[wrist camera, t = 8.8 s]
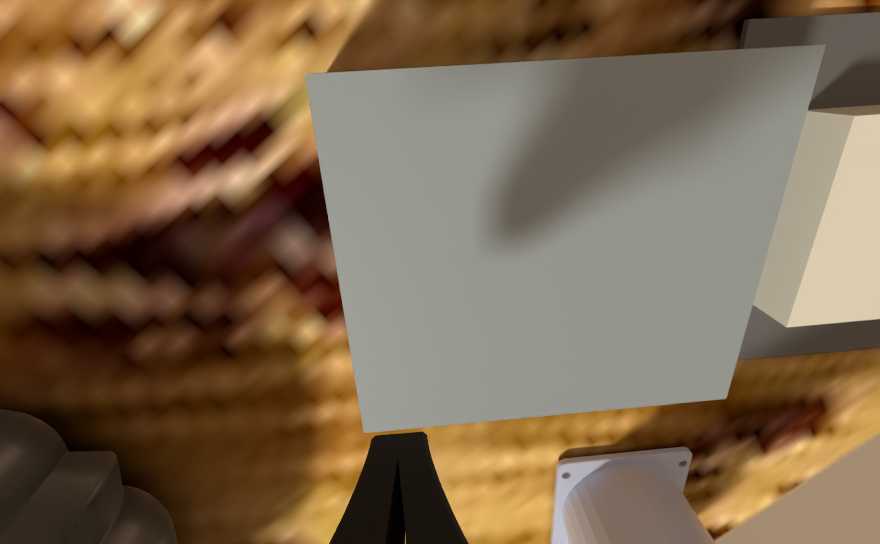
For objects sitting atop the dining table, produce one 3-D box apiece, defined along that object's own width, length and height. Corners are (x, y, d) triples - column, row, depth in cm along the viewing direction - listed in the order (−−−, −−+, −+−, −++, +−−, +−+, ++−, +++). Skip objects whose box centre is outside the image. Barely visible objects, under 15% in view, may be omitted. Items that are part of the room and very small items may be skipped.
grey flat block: (676, 347, 23) (726, 398, 20) (370, 374, 23) (363, 433, 19) (738, 49, 17) (826, 44, 14) (326, 72, 17) (304, 74, 13)
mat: (886, 343, 24) (891, 346, 24) (672, 362, 24) (676, 366, 23) (1037, 4, 18) (1047, 3, 17) (744, 19, 17) (749, 19, 17)
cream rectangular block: (786, 327, 20) (748, 301, 22) (913, 315, 20) (863, 291, 22) (854, 116, 16) (800, 110, 18) (1009, 105, 16) (938, 100, 19)
